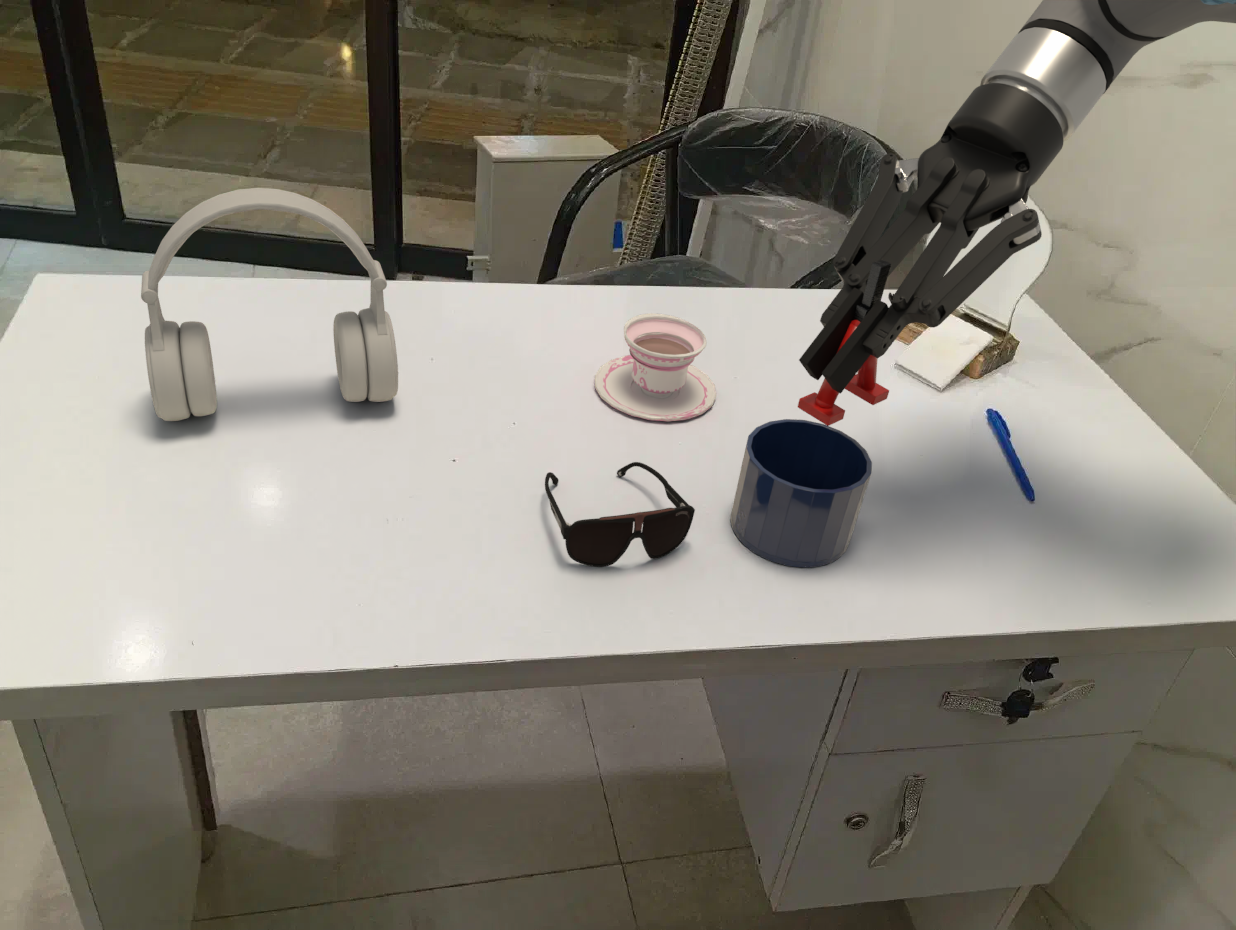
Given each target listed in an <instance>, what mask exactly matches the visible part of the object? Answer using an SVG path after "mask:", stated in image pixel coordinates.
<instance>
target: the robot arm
mask: <svg viewBox="0 0 1236 930" xmlns="http://www.w3.org/2000/svg"><path fill="white" fill-rule="evenodd" d="M1204 22H1218V23H1220V22H1221V23H1228V24H1229V23H1230V24H1236V0H1042V1H1041V2H1040V4H1038V6H1037V7H1036V8H1035V10H1034V11H1033V13H1031V15H1030V17H1028V19H1027V20H1026V22H1025V23H1024V24H1023V26H1022V27H1021V29H1020V30H1019V31H1018V32H1017V34H1015V35H1014V37H1013V38H1012V40H1010V42H1009V43H1008V44H1007V46H1006V47H1005V48H1004V49H1003V51H1002V52H1001V53H1000V55H999V56H998V57H997V59H995V61H994V62H993V64H992V65H991V66H990V68H989V69H988V70H987V71H986V73H985V74H984V75H983V77H982V78H981V81H980V84H979V85H978V86H976V87H975V88H974V89H973V90H972V91H971V93H970V94H969V95H968V97H967V98H966V99H965V100H964V102H963V103H962V105H961V106H960V107H959V108H958V110H957V111H956V112H955V114H954V115H953V116H952V118H951V119H950V120H949V122H948V123H947V125H946V127H945V129H944V131H943V133H942V135H941V136H940V139H939V140H938V141H937V142H936V143H934V144H933V145H931V146H930V147H928V148H926V149H924V151H923V152H921V154H920V155H919V157H917V158H916V157H915V158H906V159H898V157H897V155H896V154H895V153H893V152H889V153H886V154H885V155H883V156H882V157H881V159H880V161H879V167H878V168H879V169H878V175H877V180H876V182H875V184H874V186H873V187H872V190H871V191H870V193H869V194H868V196H867V198H866V200H865V202H864V204H863V206H862V207H861V209H860V211H859V212H858V214H857V216H856V218H855V220H854V221H853V223H852V225H851V227H850V229H849V231H848V232H847V234H846V236H845V237H844V240H843V242H842V243H841V245H840V247H839V248H838V250H837V252H836V254H835V256H834V258H833V259H832V266H833V267H834V269H835V271H836V273H837V275H838V277H839V279H840V280H841V282H842V284H843V286H842V287H841V289H840V291H839V292H838V293H837V294H836V296H835V297H834V298H833V299H832V300H831V302H830V304H828V306H827V307H826V308H825V310H824V311H823V313H822V314H821V316H820V320H819V322H820V323H821V325H822V326H823V328H822V329H821V330H820V331H819V333H818V334H817V335H816V337H815V338H814V340H812V342H811V343H810V345H809V346H808V347H807V349H806V350H805V351H804V352H803V354H802V355H801V356H800V358H799V359H798V361H799V363H800V364H801V365H802V366H803V368H804V369H805V371H806V372H807V373H808V375H809V376H810V377H811V378H813V379H814V380H817V381H819V380H820V379H821V377H822V376H823V378H824V379H826V380H827V382H828V383H829V385H830V386H831V388H832V389H833V390H835V391H837V392H838V393H839V394H842V393H843V391H845V390H846V389H845V387H846V386H847V385H848V383H849V382H850V381H851V379H852V378H853V377H854V376H855V375H856V374H858V370H859V369H860V368H861V366H862V365H863V364H864V363H865V361H866V360H867V359H868V357H869V356H870V355H872V356H874V357H876V358H878V359H879V358H881V357H882V356H883V355H885V354H886V353H887V351H888V350H889V348H890V347H891V346H892V345H893V343H894V342H895V341H896V339H897V338H898V337H899V336H900V334H901V333H902V332H903V331H904V329H905V328H906V327H907V326H909V325H910V324H914V323H917V324H924V325H926V326H927V327H929V328H932V329H933V328H937V327H938V326H940V325H941V324H943V322H944V321H945V320H947V318H948V317H950V316H951V314H953V312H955V311H956V310H957V309H958V307H960V306H961V305H962V304H963V303H964V302H966V300H967V299H968V298H969V297H970V296H971V295H972V294H973V293H974V292H975V291H976V290H978V289H979V288H980V287H981V286H982V285H983V284H984V283H985V282H986V281H987V280H988V279H989V278H990V277H991V276H992V275H993V274H994V273H995V272H996V271H997V270H998V269H1000V267H1001V266H1002V265H1004V263H1006V262H1007V261H1008V260H1009V259H1010V257H1012V256H1013V255H1014V254H1016V253H1017V252H1020V251H1022V250H1024V249H1026V248H1027V247H1029V246H1032V245H1033V244H1035V243H1037V242H1039V241H1040V239H1041V238H1042V228H1041V225H1040V224H1041V223H1040V218H1039V214H1038V211H1037V210H1035V209H1034V208H1029V207H1028V205H1027V202H1028V198H1029V192H1030V189H1031V187H1032V186H1034V185H1035V184H1036V183H1037V182H1038V180H1039V179H1040V178H1041V176H1043V174H1044V173H1045V172H1046V170H1047V169H1048V167H1049V166H1050V165H1051V164H1052V163H1053V161H1054V160H1055V158H1056V157H1058V156H1057V155H1058V154H1059V153H1060V152H1061V150H1062V149H1063V146H1064V143H1065V141H1068V140H1069V139H1070V138H1071V137H1072V136H1073V135H1074V133H1075V132H1076V131H1077V129H1078V128H1079V127H1080V125H1081V124H1082V123H1083V121H1084V120H1085V119H1086V117H1088V115H1089V114H1090V112H1091V111H1092V110H1093V108H1094V107H1095V106H1096V105H1097V103H1098V102H1099V100H1100V99H1101V97H1102V96H1103V95H1104V94H1105V93H1106V92H1107V91H1108V89H1109V88H1110V86H1111V85H1112V83H1114V81H1115V80H1116V78H1117V77H1118V76H1119V75H1120V73H1121V72H1122V71H1123V70H1124V68H1125V67H1126V66H1127V65H1128V63H1129V62H1130V61H1131V60H1132V58H1133V57H1134V56H1135V55H1136V54H1137V53H1138V52H1139V51H1140V50H1142V49H1143V48H1144V47H1146V46H1148V45H1151V44H1153V43H1155V42H1156V41H1159V40H1162V39H1165V38H1167V37H1171V36H1173V35H1174V34H1177V33H1179V32H1181V31H1184V30H1185V29H1188V28H1190V27H1192V26H1194V25H1196V24H1200V23H1204ZM915 179H917V180H916V181H917V183H916V184H917V185H916V186H917V188H916V190H915V191H914V193H912V195H911V196H910V197H909V198H908V199H907V202H906V203H905V208H904V209H903V211H902V212H901V213H900V214H899V216H897V218H896V219H895V220H894V221H893V222H892V224H891V225H889V227H888V228H887V226H888V224H889V222H890V220H891V218H892V217H893V216H894V213H895V211H896V210H897V208H898V207H899V203H900V201H901V198H902V195H903V193H907V192H908V191H909V190H910V186H911V184H912V183H913V182H914V180H915ZM998 220H1000V223H998V224H997V225H995V227H993V228H992V229H991V230H990V231H989V232H988V233H987V234H985V236H983V237H982V239H980V240H979V242H978V243H976V245H974V246H973V247H972V248H971V249H970V250H969V251H968V252H967V253H966V254H965V255H964V256H963V257H961V259H960V260H958V261H957V263H956V264H955V265H954V266H953V267H952V268H951V269H950V267H951V265H952V264H953V263H954V261H955V260H956V258H957V257H958V256H959V254H960V253H961V251H962V250H964V249H966V248H967V247H968V246H969V244H970V243H971V242H972V240H973V239H974V237H975V235H976V234H977V232H978V231H979V230H980V228H983V227H985V226H987V225H990V224H992V223H994V222H996V221H998ZM939 224H940V225H939ZM938 225H939V227H938V228H937V226H938ZM886 228H887V229H886ZM936 228H937V230H936V231H935V233H934V234H933V235H932V237H931V238H930V240H929V242H928V243H927V245H926V246H925V248H924V249H923V251H922V252H921V254H920V255H919V257H918V258H917V260H916V261H915V263H914V264H913V265H912V267H911V269H910V270H909V271H908V273H907V274H906V275H905V278H904V279H903V281H902V282H901V283H900V285H899V287H898V288H897V289H896V291H895V292H894V293H892V292H889V293H888V297H887V298H888V301H889V302H890V306H888V304H887V303H886V302H884V301H882V300H881V301H880V300H877V302H876V303H875V304H874V305H873V307H872V308H871V309H870V311H869V312H868V313H867V315H866V316H865V317H864V319H863V320H862V321H861V322H860V324H859V325H858V326H857V328H856V329H855V330H854V332H853V333H852V334H851V335H850V337H849V338H848V339H847V341H846V342H845V343H844V345H843V346H842V347H841V348H840V350H839V351H838V349H839V347H840V344H841V342H842V340H843V338H844V336H845V334H846V331H847V329H848V327H849V325H850V323H851V321H852V320H853V316H854V313H855V309H856V306H857V305H859V304H861V303H862V299H863V295H864V292H865V288H866V284H867V281H868V277H869V274H870V270H871V266H872V263H874V262H877V261H880V260H884V261H886V262H889V263H891V267H890V271H889V274H888V277H889V276H890V275H891V274H892V273H893V272H894V271H895V269H896V268H897V267H898V266H899V265H900V263H902V261H903V260H904V259H905V258H906V257H907V255H909V253H910V252H911V251H912V250H913V249H914V248H915V246H916V245H917V244H918V243H919V242H920V241H921V240H922V238H923V237H924V236H925V235H930V234H931V233H932V232H933V231H934V230H935V229H936ZM884 231H885V232H884ZM949 269H950V270H949ZM837 351H838V352H837ZM836 353H837V354H836Z"/></svg>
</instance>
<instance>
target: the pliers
mask: <svg viewBox="0 0 1236 930" xmlns="http://www.w3.org/2000/svg"><path fill="white" fill-rule="evenodd" d="M890 267H891V263H889V262H886V261H884V260H880V261H877V262H874V263H872V266H871V270H870V274H869V277H868V281H867V284H866V288H865V292H864V295H863V299H862V303H861V304H859V305H857V306H856V309H855V313H854V316H853V320H852V321H851V323H850V325H849V327H848V329H847V331H846V334H845V336H844V338H843V340H842V342H841V344H840V347H839V349H838V351H839V350H840V348H841V347H842V346H843V345H844V343H845V342H846V341H847V339H848V338H849V337H850V335H851V334H852V333H853V332H854V330H855V329H856V328H857V326H858V325H859V324H860V322H861V321H862V320H863V319H864V317H865V316H866V315H867V313H868V312H869V311H870V309H871V308H872V307H873V305H874V304H875V303H876V302H877V300H880V301H882V298H883V294H884V291H885V287H886V284H887V282H888V278H889V276H888V274H889V271H890ZM838 351H837V352H838ZM836 354H837V353H836ZM878 360H879V358H876V357H874V356H872V355H870V356H869V357H868V359H867V360H866V361H865V363H864V364H863V365H862V366H861V368H860V369H859V370H858V372H857V373H856V374H855V376H854V377H853V378H852V379H851V381H850V382H849V383H848V385H847V386H846V387H845V389H844V390H846V391H848V392H849V393H851V394H853V395H854V396H856V397H858V398H860V399H861V400H863V401H865V402H866V403H868V404H870V405H872V406H875V405H877V404H879V403H881V402H883V401H886V400H888V396H889V393H890V389H888V388H886V387H884V386H882V385H881V384H880V383H878V382H877V374H878V373H877V372H878ZM839 394H840V393H838V392H837V391H835V390H833V389H832V388H831V386H830V385H829V383H828V382H827V380H826V379H825V378H824V379H823V381H822V383H821V385H820V387H819V390H818V391H817V392H815V391H814V392H811V393H809V394H807V395H805V396H802V397H800V398H799V399H798V403H797V408H798V409H799V410H801V411H802V412H804V413H806V414H808V415H810V416H811V417H812V418H814V419H816V420H817V421H819V422H820V423H821V424H824V425H827V426H829V427H830V426H831V425H834V424H836V423H838V422H839V421H842V420H843V419H844V417H845V413H846V410H845V409H844V408H842V407H840V406H839V405H837V404H836V403H835V402H836V401H837V399H838V397H839Z"/></svg>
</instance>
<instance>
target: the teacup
mask: <svg viewBox="0 0 1236 930" xmlns="http://www.w3.org/2000/svg"><path fill="white" fill-rule="evenodd" d="M623 337H624V341H625V343H626V344H627V347H629V350H628V351H629V354H628V355H623V356H620V357H616V358H613V359H611V360H609V361H608V362H606V363H604V364H603V365H601V366H600V367H599V369H598V370H597V372H596V373H595V375H594V389H595V390H596V392H597V394H598V396H599V397H600V398H601V399H602V400H603V401H604V402H606V404H608V405H609V406H611V407H612V409H615V410H618V411H620V412H622V413H624V414H626V415H629V416H632V417H635V418H639V419H644V420H648V421H659V422H675V421H687V420H690V419H693V418H696V417H698V416H702V415H703V414H704V413H706V412H707V411H708V410H709V409H711V408H712V407H713V405H714V403H715V401H716V398H717V391H716V385H715V384H714V382H713V380H711V379H710V377H709V375H707V373H705V372H704V371H702V370H701V369H700V368H698V367H696V366H694V365H693V364H692V363H693V362H694V361H695V359H696V357H698V356H699V355H700V354H701V353H702V352H703V351H704V350H705V348H706V347H707V343H708V342H707V337H706V336H705V334H704V333H703V331H702V330H701V329H700V328H699V327H697V326H696V325H695V324H693V323H691V322H690V321H688V320H685V319H683V318H680V317H677V316H674V315H670V314H664V313H652V312H651V313H642V314H638V315H635V316H632V317H631V318H629V319H628V320H627V321H626V322H625V324H624V326H623Z"/></svg>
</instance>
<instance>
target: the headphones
mask: <svg viewBox="0 0 1236 930" xmlns="http://www.w3.org/2000/svg"><path fill="white" fill-rule="evenodd" d="M258 210H261V211H262V210H264V211H275V212H285V213H290V214H295V215H300V216H302V217H305V218H307V219H310V220H311V221H313V222H316V223H318V224H320V225H322V226H324V227H325V228H327V229H328V230H329V231H331V232H332V233H333V234H334V235H335V236H336V237H337V238H338V239H340V240H341V242H343V243H344V245H346V246H347V248H349V250H350V251H351V252H352V254H353V255H354V256H355V258H356V259H357V260H358V262H359V263H360V264H361V266H362V267H363V268H364V269H365V270H366V271H367V273H368V276H369V279H370V303H369V307H367V308H363V309H359V311H358V313H356V312H355V311H342V312H339V313H336V315H335V316H334V317H333V318H334V319H333V324H332V325H333V328H332V330H333V332H332V333H333V346H334V356H335V357H334V358H335V364H336V373H337V380H338V384H339V389H340V393H341V396H342V398H343V399H344V400H345V401H346V402H350V403H360V402H364V401H366V399H367V400H368V401H369V402H374V403H382V402H389V401H392V400H393V399H394V397H396V396H397V394H398V390H399V364H398V353H397V346H396V337H395V332H394V331H395V330H394V328H393V326H394V325H393V322H392V319H391V317H390V314H389V312H388V311H386V310H385V301H384V290H385V289H386V288H387V286H388V282H387V280H386V276H385V273H384V271H383V268H382V266H381V265H382V264H381V263H380V261H378V260H376V259H373V257H372V255H371V254H370V252H369V250H368V248H367V246H366V245H365V244H364V242H363V241H362V239H361V238H360V236H359V235H358V233H357V232H356V231H355V230H354V229H353V228H352V227H351V226H350V225H349V224H348V223H347V222H346V220H345V219H343V218H342V217H341V216H340V215H338V214H337V213H335V212H334V211H333V209H331V208H329V207H328V206H325V205H323V204H321V203H320V202H318V201H317V200H314V199H313V198H310V197H308V196H305V195H303V194H299V193H297V192H293V191H288V190H284V189H279V188H271V187H270V188H269V187H268V188H267V187H251V188H240V189H235V190H231V191H228V192H224V193H219V194H217V195H214V196H212V197H210V198H208V199H205V200H204V201H202V202H199V203H198V204H196V205H195V206H194V207H192V208H190V209H189V210H188V211H186V212H185V213H184V214H183V215H182V216H180V218H179V219H178V220H177V221H175V223H174V224H173V225H172V226H171V227H170V229H169V230H168V231H167V232H166V234H165V236H164V237H163V238H162V240H161V241H160V243H159V246H158V247H157V250H156V252H155V254H154V256H153V259H152V261H151V265H150V267H149V269H148V270H145V271H144V272H143V273H142V274H141V287H140V289H141V290H140V298H141V299H140V300H142V302H144V304H146V305H147V311H148V318H149V325H148V326H146V327H145V329H144V351H145V360H146V361H145V363H146V370H147V377H148V383H149V384H148V385H149V390H150V395H151V399H152V400H151V401H152V404H153V408H154V411H155V414H156V416H157V418H159V419H162V420H163V422H178V421H183V420H186V419H189V418H190V417H191V414H192V415H193V416H194V417H205V416H209V415H214V413H215V412H216V411H217V407H218V398H217V396H218V395H217V386H216V377H215V369H214V362H213V355H212V348H211V347H212V346H211V341H210V336H209V331H208V329H207V327H206V324H204V322H201V321H191V320H190V321H183V322H181V324H180V325H179V323H178V322H177V321H174V320H165V318H164V316H163V315H164V314H163V312H162V308H161V307H162V306H161V303H160V298H159V283H160V281H161V280H162V279H163V278H164V275H165V274H166V272H167V270H168V268H169V267H170V264H171V262H172V260H173V259H174V257H175V255H176V254H177V253H178V251H179V250H180V249H181V247H182V246H183V245H184V243H186V241H187V240H188V239H189V238H190V237H191V236H192V235H193V234H194V233H195V232H196V231H199V229H201V228H202V227H204V226H206V225H208V224H209V223H211V222H214V221H215V220H217V219H220V218H222V217H225V216H230V215H232V214H233V215H234V214H239V213H245V212H249V211H258Z"/></svg>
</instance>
